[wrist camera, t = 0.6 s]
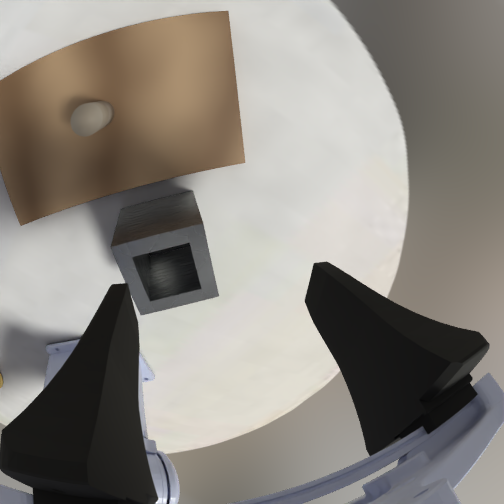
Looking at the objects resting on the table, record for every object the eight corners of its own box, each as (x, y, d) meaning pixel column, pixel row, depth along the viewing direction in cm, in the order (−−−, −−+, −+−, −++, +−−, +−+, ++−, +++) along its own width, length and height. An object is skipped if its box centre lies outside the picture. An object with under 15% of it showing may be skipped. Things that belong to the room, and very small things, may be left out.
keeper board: (25, 219, 15) (0, 252, 11) (-9, 90, 9) (-46, 96, 6) (241, 159, 18) (263, 179, 14) (224, 14, 12) (244, -7, 9)
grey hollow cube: (141, 268, 20) (141, 315, 16) (121, 209, 17) (110, 247, 13) (205, 252, 21) (219, 296, 17) (192, 190, 18) (203, 223, 14)
